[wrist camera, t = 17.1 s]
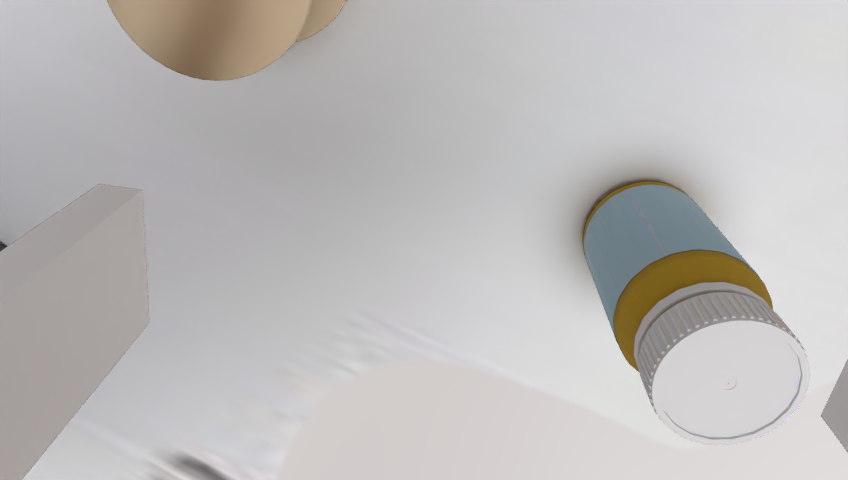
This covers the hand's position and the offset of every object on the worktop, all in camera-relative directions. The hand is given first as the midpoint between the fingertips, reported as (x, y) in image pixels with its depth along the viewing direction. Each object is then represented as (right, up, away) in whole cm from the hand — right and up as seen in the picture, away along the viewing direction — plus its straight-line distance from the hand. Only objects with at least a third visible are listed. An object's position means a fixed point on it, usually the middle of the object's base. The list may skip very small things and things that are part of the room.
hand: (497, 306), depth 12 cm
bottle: (+12, +2, +28) cm, 31 cm away
